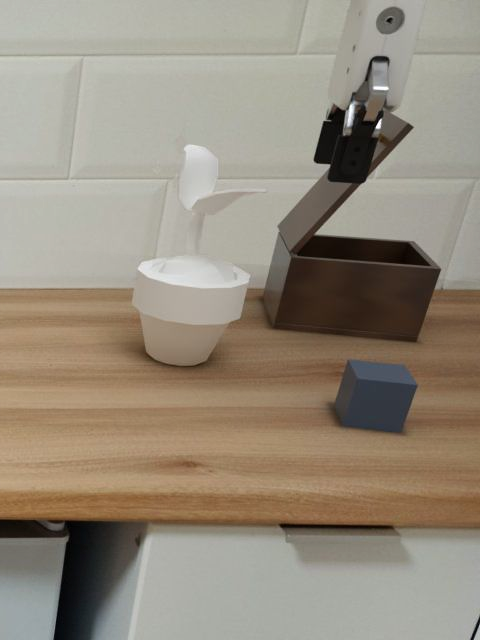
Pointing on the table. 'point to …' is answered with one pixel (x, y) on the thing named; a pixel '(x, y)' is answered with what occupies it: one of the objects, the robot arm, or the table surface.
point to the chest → (351, 287)
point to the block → (375, 396)
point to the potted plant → (191, 273)
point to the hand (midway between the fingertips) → (337, 172)
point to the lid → (335, 190)
